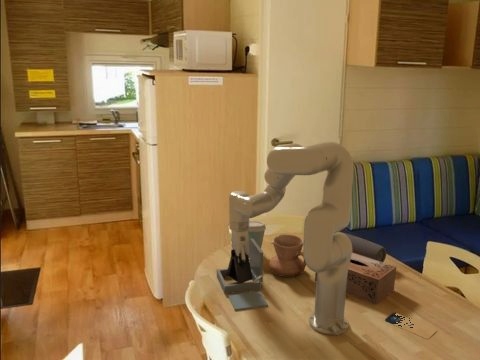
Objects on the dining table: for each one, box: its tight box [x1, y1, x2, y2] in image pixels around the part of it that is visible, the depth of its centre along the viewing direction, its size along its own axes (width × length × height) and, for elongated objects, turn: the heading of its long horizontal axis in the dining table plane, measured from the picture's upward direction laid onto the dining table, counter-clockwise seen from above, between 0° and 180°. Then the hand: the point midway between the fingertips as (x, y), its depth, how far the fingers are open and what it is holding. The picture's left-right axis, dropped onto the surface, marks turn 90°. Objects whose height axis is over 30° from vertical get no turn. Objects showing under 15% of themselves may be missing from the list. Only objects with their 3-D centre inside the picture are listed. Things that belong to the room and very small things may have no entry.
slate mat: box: [227, 290, 269, 312], centre depth 162 cm, size 10×12×1 cm
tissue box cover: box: [314, 253, 397, 306], centre depth 173 cm, size 26×14×10 cm, turn 47°
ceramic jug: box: [268, 233, 307, 278], centre depth 183 cm, size 18×14×14 cm
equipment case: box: [216, 238, 265, 295], centre depth 173 cm, size 16×15×15 cm
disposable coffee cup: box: [248, 220, 267, 258], centre depth 199 cm, size 11×11×15 cm
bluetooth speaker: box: [340, 231, 387, 263], centre depth 196 cm, size 23×9×10 cm, turn 42°
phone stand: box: [227, 249, 253, 284], centre depth 173 cm, size 9×6×12 cm, turn 35°
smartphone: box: [384, 311, 414, 328], centre depth 149 cm, size 8×1×15 cm
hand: (239, 269), depth 173 cm, fingers closed on phone stand, 2 cm apart
